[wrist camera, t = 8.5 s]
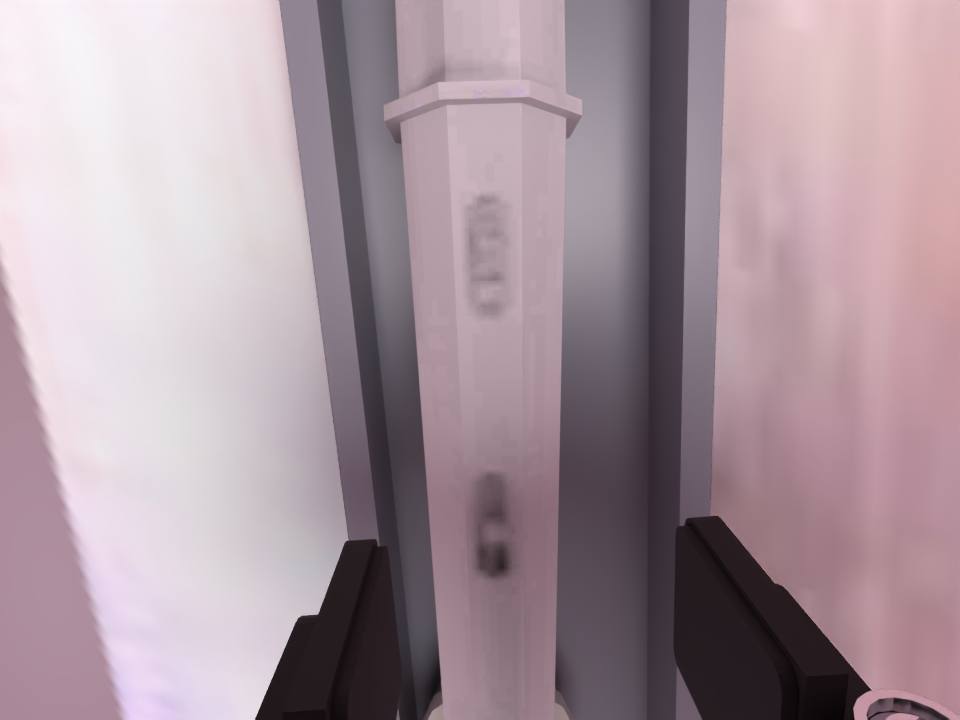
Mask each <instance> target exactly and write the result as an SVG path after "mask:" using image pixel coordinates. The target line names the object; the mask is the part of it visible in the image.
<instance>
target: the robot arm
mask: <svg viewBox="0 0 960 720" xmlns="http://www.w3.org/2000/svg"><path fill="white" fill-rule="evenodd" d="M673 647H674V655H675V660H676V663H677V666H678V669H679V671H680V673H681V675H682V677H683V680H684V682H685V684H686V686H687V688H688V690H689V693H690V695H691V697H692V699H693V701H694V703H695V705H696V708H697V710H698V712H699V714H700V716H701V718H702V720H960V717H959V716H958V715H957V714H955V713H953V712H952V711H950V710H949V709H947V708H945V707H944V706H942V705H940V704H939V703H937V702H934V701H932V700H929V699H927V698H925V697H922V696H920V695H917V694H913V693H909V692H905V691H901V690H892V689H878V690H873V691H871V689H870V688H869V687H868V686H867V685H866V683H865V682H864V681H863V680H862V679H861V677H860V676H859V675H858V674H857V673H856V672H855V670H854V669H853V668H852V667H851V666H850V664H849V663H848V662H847V661H846V660H845V659H844V657H843V656H842V655H841V654H840V653H839V651H838V650H837V649H836V648H835V647H834V646H833V644H832V643H831V642H830V641H829V640H828V638H827V637H826V636H825V635H824V634H823V633H822V631H821V630H820V629H819V628H818V627H817V625H816V624H815V623H814V622H813V621H812V620H811V618H810V617H809V616H808V615H807V614H806V612H805V611H804V610H803V609H802V608H801V607H800V605H799V604H798V603H797V602H796V601H795V599H794V598H793V597H792V596H791V595H790V594H789V592H788V591H787V590H786V589H785V588H784V587H782V586H781V585H778V584H774V582H773V581H772V580H771V579H770V577H769V576H768V575H767V574H766V573H765V571H764V570H763V569H762V568H761V567H760V565H759V564H758V563H757V562H756V561H755V559H754V558H753V557H752V556H751V555H750V553H749V552H748V551H747V550H746V548H745V547H744V546H743V545H742V544H741V542H740V541H739V540H738V539H737V538H736V536H735V535H734V534H733V533H732V532H731V530H730V529H729V528H728V527H727V526H726V524H725V523H724V522H723V521H722V519H721V518H719V517H718V516H707V517H692V518H687V519H686V521H685V525H684V526H678V527H677V529H676V540H675V589H674V638H673ZM401 678H402V670H401V658H400V649H399V640H398V631H397V623H396V614H395V605H394V596H393V587H392V578H391V570H390V561H389V552H388V548H387V546H378V543H377V540H376V539H365V540H350V541H346V542H345V544H344V547H343V550H342V552H341V555H340V558H339V560H338V563H337V566H336V568H335V571H334V574H333V577H332V579H331V582H330V585H329V587H328V590H327V593H326V595H325V598H324V601H323V603H322V606H321V609H320V612H319V614H318V615H308V616H301V617H299V618H298V620H297V622H296V623H295V626H294V628H293V630H292V633H291V635H290V637H289V640H288V642H287V645H286V647H285V649H284V652H283V654H282V657H281V659H280V661H279V664H278V666H277V668H276V671H275V673H274V676H273V678H272V680H271V683H270V685H269V687H268V690H267V692H266V695H265V697H264V699H263V702H262V704H261V707H260V709H259V711H258V714H257V716H256V718H255V720H396V718H397V711H398V704H399V697H400V690H401Z"/></svg>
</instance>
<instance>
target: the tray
mask: <svg viewBox="0 0 960 720" xmlns="http://www.w3.org/2000/svg"><path fill="white" fill-rule="evenodd" d="M279 2H280V10H281V18H282V25H283V33H284V41H285V49H286V56H287V64H288V72H289V80H290V88H291V95H292V103H293V111H294V119H295V126H296V134H297V142H298V150H299V157H300V165H301V173H302V181H303V189H304V196H305V204H306V212H307V220H308V227H309V235H310V243H311V251H312V258H313V266H314V274H315V282H316V290H317V297H318V305H319V313H320V321H321V328H322V336H323V344H324V352H325V360H326V367H327V375H328V383H329V391H330V398H331V406H332V414H333V422H334V429H335V437H336V445H337V453H338V461H339V468H340V476H341V484H342V492H343V499H344V507H345V515H346V523H347V530H348V538H349V541H350V540H365V539H376V540H377V543H378V546H387V548H388V552H389V561H390V570H391V578H392V587H393V596H394V605H395V614H396V623H397V631H398V640H399V649H400V658H401V670H402V678H401V690H400V697H399V704H398V711H397V718H396V720H423V718H424V716H425V714H426V711H427V709H428V707H429V700H432V699H433V696H434V694H435V692H436V690H437V688H438V686H439V684H440V681H441V672H440V658H439V644H438V631H437V617H436V603H435V590H434V576H433V562H432V549H431V535H430V521H429V508H428V494H427V481H426V467H425V453H424V440H423V426H422V412H421V399H420V385H419V371H418V358H417V344H416V330H415V317H414V303H413V289H412V276H411V262H410V249H409V235H408V221H407V208H406V194H405V180H404V167H403V153H402V144H398V143H395V141H394V139H393V137H392V135H391V133H390V131H389V129H388V127H387V125H386V123H385V121H384V105H385V104H388V103H390V102H392V101H395V100H397V99H399V80H398V55H397V31H396V7H395V0H279ZM726 2H727V0H565V69H566V94H568V95H571V96H574V97H576V98H579V99H581V100H582V117H581V118H580V120H579V122H578V124H577V125H576V127H575V129H574V131H573V132H572V134H571V136H570V138H568V139H566V152H565V202H564V253H563V304H562V354H561V405H560V455H559V506H558V556H557V607H556V657H555V687H556V689H557V691H559V692H560V693H561V695H562V696H563V699H564V701H565V703H566V704H567V706H568V708H569V710H570V712H571V714H572V716H573V718H574V719H575V720H702V718H701V716H700V714H699V712H698V710H697V708H696V705H695V703H694V701H693V699H692V697H691V695H690V693H689V690H688V688H687V686H686V684H685V682H684V680H683V677H682V675H681V673H680V671H679V669H678V666H677V663H676V660H675V655H674V647H673V638H674V589H675V540H676V529H677V527H678V526H684V525H685V521H686V519H687V518H692V517H707V516H710V498H711V467H712V436H713V405H714V374H715V343H716V312H717V281H718V250H719V219H720V188H721V157H722V126H723V95H724V64H725V33H726Z"/></svg>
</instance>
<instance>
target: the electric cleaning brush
mask: <svg viewBox="0 0 960 720" xmlns="http://www.w3.org/2000/svg"><path fill="white" fill-rule="evenodd" d="M395 7H396V31H397V55H398V80H399V99H397V100H395V101H392V102H390V103H388V104H385V105H384V121H385V123H386V125H387V127H388V129H389V131H390V133H391V135H392V137H393V139H394V141H395V143H398V144H402V153H403V167H404V180H405V194H406V208H407V221H408V235H409V249H410V262H411V276H412V289H413V303H414V317H415V330H416V344H417V358H418V371H419V385H420V399H421V412H422V426H423V440H424V453H425V467H426V481H427V494H428V508H429V521H430V535H431V549H432V562H433V576H434V590H435V603H436V617H437V631H438V644H439V658H440V672H441V681H440V684H439V686H438V688H437V690H436V692H435V694H434V696H433V699H432V700H429V707H428V709H427V711H426V714H425V716H424V718H423V720H575V719H574V718H573V716H572V714H571V712H570V710H569V708H568V706H567V704H566V703H565V701H564V699H563V696H562V695H561V693H560V692H559V691H557V689H556V687H555V657H556V607H557V556H558V506H559V455H560V405H561V354H562V304H563V253H564V202H565V152H566V139H568V138H570V136H571V134H572V132H573V131H574V129H575V127H576V125H577V124H578V122H579V120H580V118H581V117H582V100H581V99H579V98H576V97H574V96H571V95H568V94H566V69H565V0H395Z"/></svg>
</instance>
